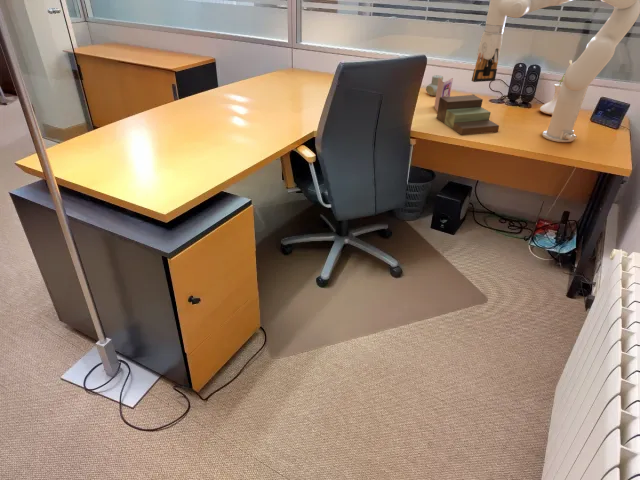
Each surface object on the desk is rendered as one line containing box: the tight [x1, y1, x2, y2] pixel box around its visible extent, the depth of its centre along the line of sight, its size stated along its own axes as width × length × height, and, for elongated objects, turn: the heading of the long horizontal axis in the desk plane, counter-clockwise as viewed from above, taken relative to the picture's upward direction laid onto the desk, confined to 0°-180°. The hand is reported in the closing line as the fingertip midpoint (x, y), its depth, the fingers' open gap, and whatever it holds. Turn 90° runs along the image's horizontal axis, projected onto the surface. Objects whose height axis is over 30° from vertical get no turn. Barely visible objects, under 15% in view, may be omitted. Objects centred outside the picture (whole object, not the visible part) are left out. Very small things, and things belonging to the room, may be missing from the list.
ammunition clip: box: [471, 53, 499, 83], centre depth 188 cm, size 11×2×12 cm, turn 104°
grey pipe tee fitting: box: [425, 74, 444, 97], centre depth 239 cm, size 11×8×10 cm
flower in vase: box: [539, 59, 573, 116], centre depth 209 cm, size 13×11×25 cm
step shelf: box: [436, 94, 500, 136], centre depth 198 cm, size 24×18×10 cm
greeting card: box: [433, 77, 454, 112], centre depth 215 cm, size 11×7×15 cm, turn 143°
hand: (484, 74), depth 190 cm, fingers closed on ammunition clip, 2 cm apart
